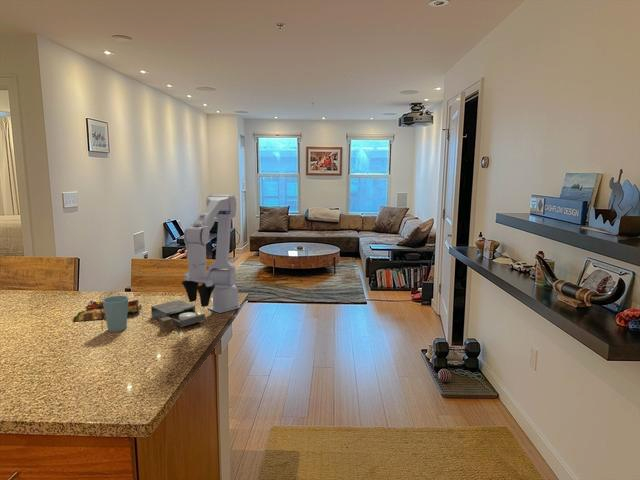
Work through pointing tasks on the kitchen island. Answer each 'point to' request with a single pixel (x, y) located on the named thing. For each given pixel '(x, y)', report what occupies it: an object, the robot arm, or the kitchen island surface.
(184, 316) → the white rounded dome
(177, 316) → the tray
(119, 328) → the cup
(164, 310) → the shiny gray metal block
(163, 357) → the kitchen island surface
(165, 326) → the brown cardboard cube
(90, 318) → the crumpled patterned cloth
